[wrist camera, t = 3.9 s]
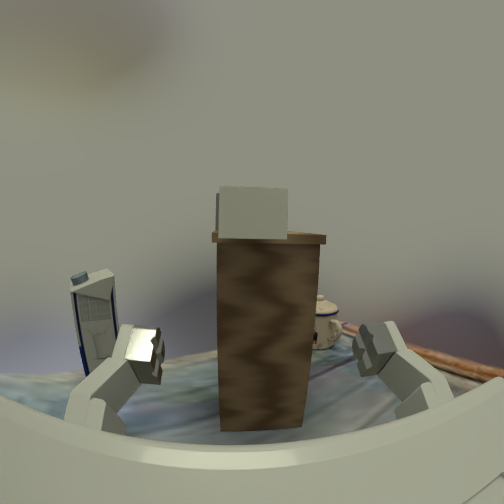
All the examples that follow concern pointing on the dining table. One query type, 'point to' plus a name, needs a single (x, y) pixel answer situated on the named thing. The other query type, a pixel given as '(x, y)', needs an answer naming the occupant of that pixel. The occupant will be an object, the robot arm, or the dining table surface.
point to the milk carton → (95, 316)
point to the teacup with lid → (325, 324)
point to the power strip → (251, 212)
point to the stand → (265, 328)
